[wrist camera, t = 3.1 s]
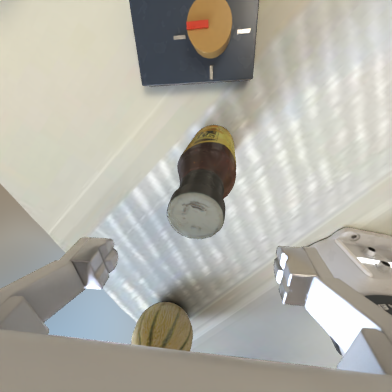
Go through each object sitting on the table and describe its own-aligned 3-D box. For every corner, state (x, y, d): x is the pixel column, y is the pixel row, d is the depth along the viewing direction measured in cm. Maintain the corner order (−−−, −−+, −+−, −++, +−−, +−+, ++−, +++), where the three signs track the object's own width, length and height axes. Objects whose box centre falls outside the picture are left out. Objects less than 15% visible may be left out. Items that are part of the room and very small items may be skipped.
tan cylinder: (231, 5, 20) (233, -13, 16) (230, 57, 22) (231, 49, 18) (190, 10, 20) (184, -7, 17) (192, 59, 22) (187, 53, 19)
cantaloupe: (174, 327, 57) (160, 397, 44) (135, 304, 54) (106, 371, 40) (207, 310, 51) (202, 385, 38) (165, 282, 47) (143, 353, 34)
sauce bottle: (214, 114, 28) (201, 145, 10) (241, 145, 29) (269, 217, 12) (184, 144, 30) (134, 210, 13) (210, 171, 32) (197, 262, 15)
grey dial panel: (256, -14, 21) (261, -30, 18) (249, 80, 25) (253, 78, 22) (138, 1, 23) (126, -12, 20) (149, 86, 27) (141, 85, 24)
